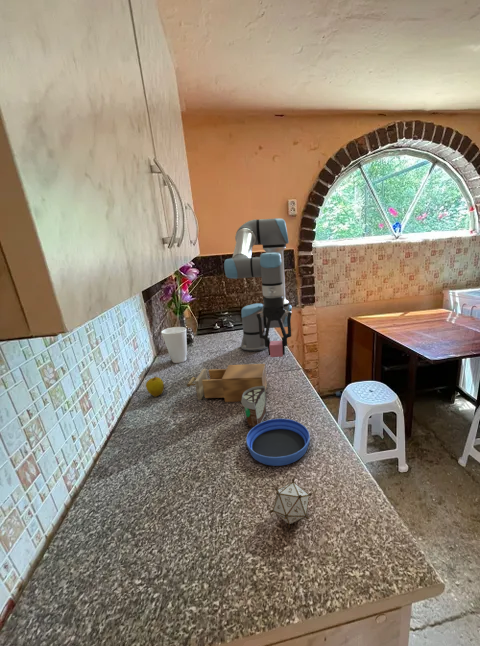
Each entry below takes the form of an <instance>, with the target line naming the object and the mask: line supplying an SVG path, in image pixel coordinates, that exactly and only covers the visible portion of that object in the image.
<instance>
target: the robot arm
mask: <svg viewBox="0 0 480 646" xmlns="http://www.w3.org/2000/svg"><path fill="white" fill-rule="evenodd" d="M234 237H235V245H234V246H235V247H234V250H233V253H232V257H230V258H226V259H225V260H224V263H223V268H224V273H225V276H226V278H227V279H234V280H235V279H249V278H261V288H262V289H261V290H262V296H263V298H262V302H263V303H261V302H260V303H259V302H258V303H252V304H248V305H245V306H243V307H242V308H241V311H240V312H241V316H240V317H241V321H242V322H241V324H242V332H243V334H242V339H241V344H240V346H241V349H242V350H243V351H246V352H260V351H263V350H266V349H267V352H268V354H267V355H268V356H270V347H269V345H270V341H271V338H270V337H269V332H270V329H279V328H280V331H281V334H282V337H281V341H282V347H283V356H285V354H286V348H285V347H287V346H288V338H292V322H291V320H292V314H293V313H292V309H293V308H292V305H291V304H290V303H289V300H287V297H286V280H285V259H284V251H285V249H286V248H287V244H289V243H290V241H289V235H288V229H287V223H286V220H285V219H284V218H262V219H261V218H260V219H256V218H255V219H251V220H248V221H247V222H245V223H243V224H241V226H240V227H238V229H237V231H235V236H234ZM254 246H262V250H264V251H265V252H263V253H260V255H259V256H257V257H256V256H255V257H252V254H253V249H254ZM286 328H287V332H286Z"/></svg>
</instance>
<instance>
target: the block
mask: <svg viewBox="0 0 480 646" xmlns="http://www.w3.org/2000/svg"><path fill="white" fill-rule="evenodd" d="M269 347H270V355H269V357H270V358H281V357H284V355H283V347H282V340H270V345H269Z"/></svg>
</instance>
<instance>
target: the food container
mask: <svg viewBox="0 0 480 646" xmlns="http://www.w3.org/2000/svg"><path fill="white" fill-rule="evenodd" d="M265 391H266V392H267V388H266V389H265V386H257V387H253V388H250V389H248V390H246V391H245V392H244V393H243V395H242V400H241V401H240V403H241V405H242V406H243V407H244V413H245V417H246V422H247V425H248V426H249V427H250V428H251V429H252V428H253V427H255V426H256V425H258V424H259V423H262V422H264V419H265V417H266V415H267V402H266V401H267V399H266V392H265Z"/></svg>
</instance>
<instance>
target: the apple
mask: <svg viewBox="0 0 480 646" xmlns="http://www.w3.org/2000/svg"><path fill="white" fill-rule="evenodd" d="M145 388H146V391H147V392H148V393H149V394H150V395H151V396H153V397H155V398H156V397H159V396H161V395H162V394H163V392H164V390H165V389H164V388H165V383H164V380H163V379H162V378H161V377H158V376H154V377H151V378H149V379H148V380H147V381H146V383H145Z"/></svg>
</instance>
